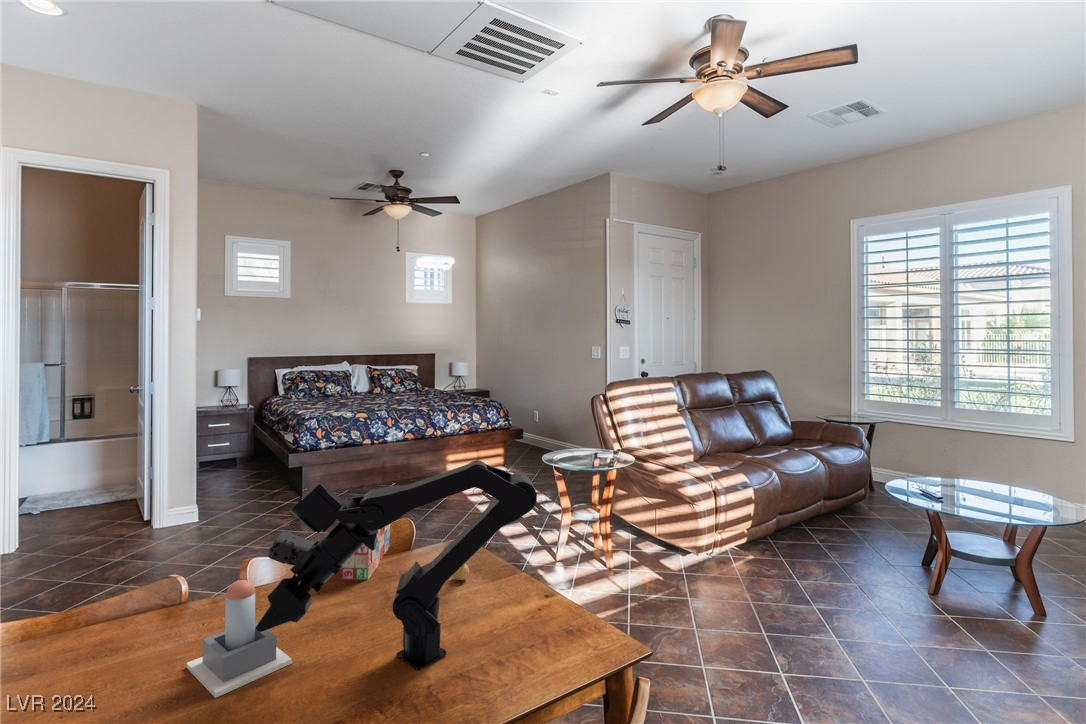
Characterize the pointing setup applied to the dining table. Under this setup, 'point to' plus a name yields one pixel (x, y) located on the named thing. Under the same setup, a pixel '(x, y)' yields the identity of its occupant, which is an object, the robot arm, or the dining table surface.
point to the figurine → (460, 569)
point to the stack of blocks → (366, 558)
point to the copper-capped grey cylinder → (239, 615)
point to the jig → (236, 662)
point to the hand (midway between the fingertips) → (268, 615)
